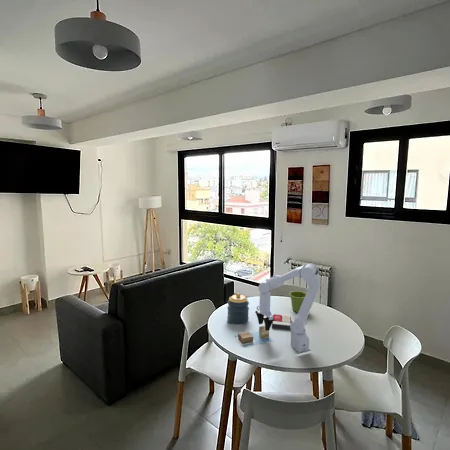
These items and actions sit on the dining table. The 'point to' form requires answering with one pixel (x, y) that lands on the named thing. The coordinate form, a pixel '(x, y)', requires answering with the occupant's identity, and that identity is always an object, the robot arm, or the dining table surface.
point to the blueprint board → (255, 340)
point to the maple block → (263, 332)
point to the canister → (238, 309)
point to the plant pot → (297, 299)
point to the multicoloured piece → (281, 322)
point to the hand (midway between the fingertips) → (264, 327)
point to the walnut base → (245, 337)
